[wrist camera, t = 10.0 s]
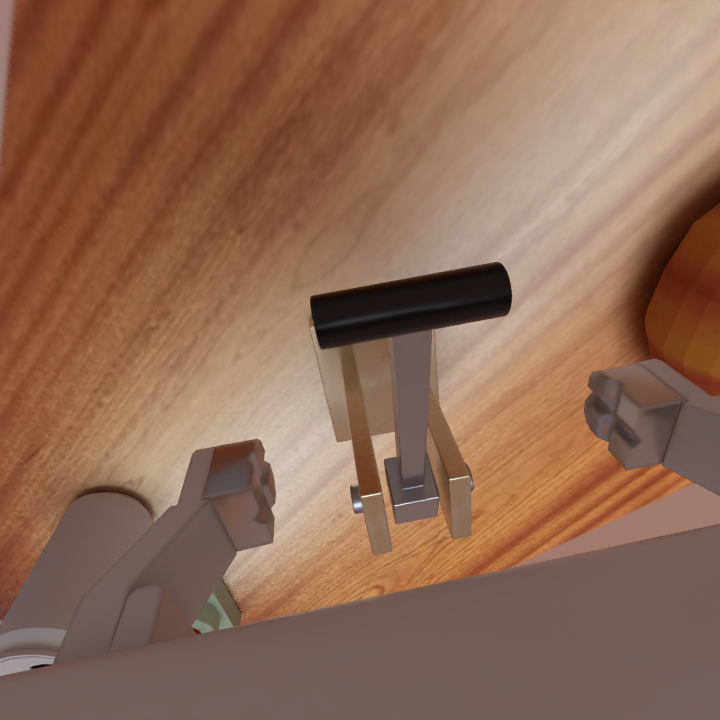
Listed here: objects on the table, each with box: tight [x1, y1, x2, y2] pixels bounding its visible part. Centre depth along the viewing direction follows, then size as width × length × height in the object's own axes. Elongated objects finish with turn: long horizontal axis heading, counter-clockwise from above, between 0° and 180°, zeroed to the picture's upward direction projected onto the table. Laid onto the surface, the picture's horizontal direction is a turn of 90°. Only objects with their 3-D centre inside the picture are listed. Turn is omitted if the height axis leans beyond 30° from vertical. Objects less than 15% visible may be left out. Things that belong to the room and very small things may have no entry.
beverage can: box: [0, 492, 152, 676], centre depth 30 cm, size 6×6×12 cm
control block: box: [192, 579, 241, 634], centre depth 40 cm, size 10×8×4 cm
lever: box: [310, 262, 512, 524], centre depth 17 cm, size 15×5×2 cm, turn 9°
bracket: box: [309, 319, 474, 555], centre depth 25 cm, size 10×8×13 cm
